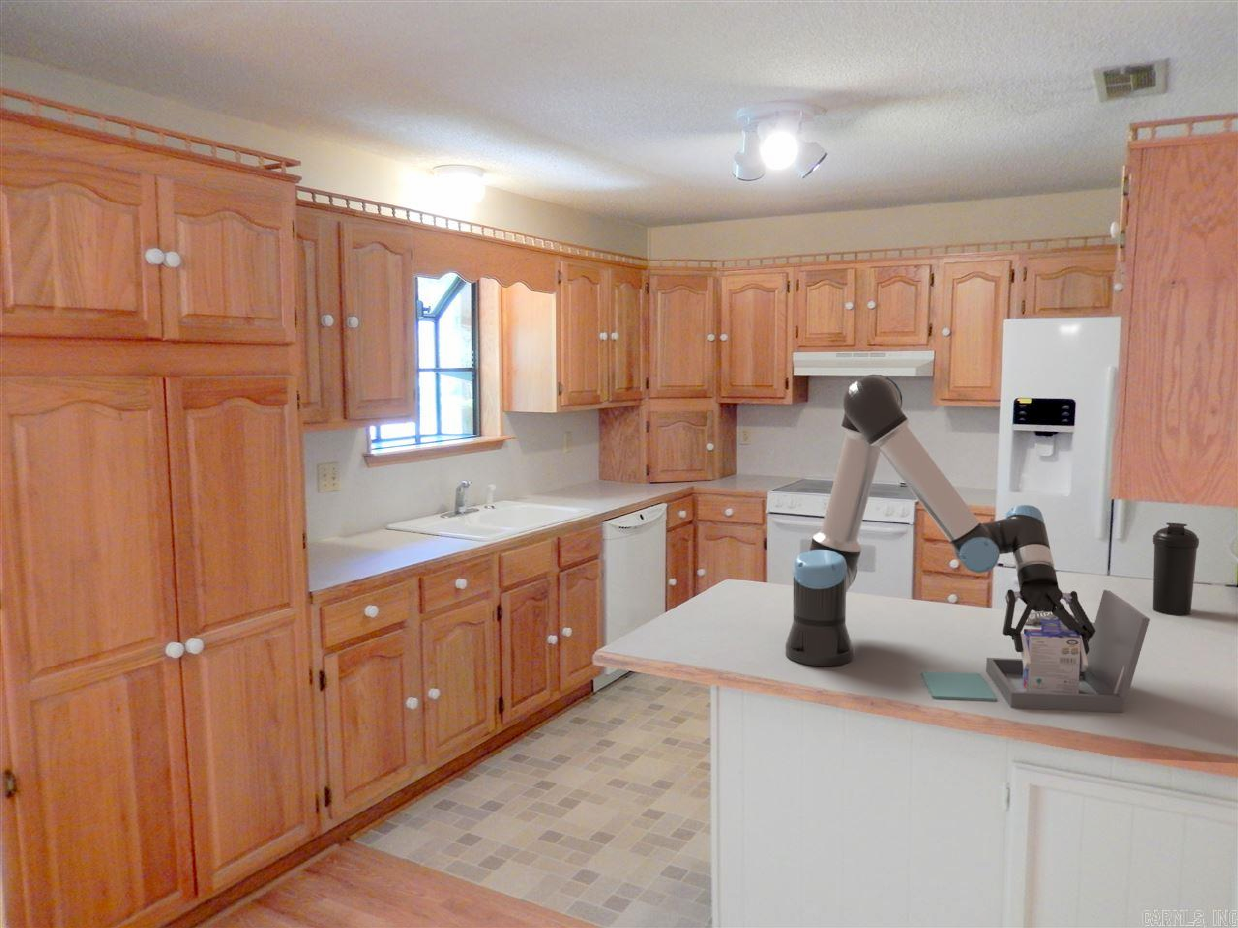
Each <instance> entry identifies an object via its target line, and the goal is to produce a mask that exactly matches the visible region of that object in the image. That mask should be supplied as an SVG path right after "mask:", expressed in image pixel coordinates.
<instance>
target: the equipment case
mask: <svg viewBox="0 0 1238 928" xmlns="http://www.w3.org/2000/svg"><path fill="white" fill-rule="evenodd" d="M1150 620H1151V618H1149V617H1148V616H1146V614H1144V613H1142V612H1141V611H1139V610H1138V609H1136V608H1135V607H1134V606H1133V605H1131V604H1129V603H1128V602H1127V601H1125V600H1124V599H1122V598H1121V597H1119V596H1118V595H1117V594H1115V593H1114V592H1113V591H1111V590H1108V589H1103V591H1102V595H1101V598H1100V601H1099V605H1098V609H1097V612H1096V615H1095V620H1094V622H1093V623H1094V626H1093V627H1094V629H1095V633H1094V635H1093V637H1092V638H1091V639H1089V641H1088V645H1089V652H1088V654H1087V655H1086V657H1087V662H1088V667H1087V669H1086V670H1085V672H1084V671H1080V673H1079V678H1080V677H1081V678H1082V679H1084V680H1085V681H1086V683H1087V684H1089V686H1091V688H1092V689H1094V691H1095V692H1096V693H1097V694H1091V693H1090V694H1089V693H1079V694H1073V693H1050V692H1027V691H1026V690H1025V691H1023V690H1015V688H1014V687H1013V685H1012V684H1011V683H1010V681H1009V680H1008V679H1007V678H1006V676H1005V675H1006V674H1007V675H1023V661H1022V658H1003V657H1002V658H1001V657H1000V658H998V657H986V666H985V673H986V674H987V675H988V676H989V677H990V679H991V680H992V682H993V684H994V685H995V686H996V688H997V689H998V691H999V693H1000V694H1001V695H1002V697H1003V699H1005V701H1006V703H1007V704H1008V706H1009V707H1010V708H1013V709H1014V708H1015V709H1031V710H1032V709H1033V710H1056V711H1058V710H1059V711H1076V712H1077V711H1080V712H1101V713H1118V714H1119V713H1123V706H1124V705H1123V704H1124V699H1127V697H1128V694H1129V691H1130V689H1131V685H1132V681H1133V678H1134V674H1135V672H1136V667H1137V666H1138V662H1139V659H1140V654H1141V651H1142V649H1143V644H1144V641H1145V637H1146V635H1147V631H1148V629H1149V624H1150ZM1004 674H1005V675H1004Z"/></svg>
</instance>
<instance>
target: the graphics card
mask: <svg viewBox="0 0 1238 928" xmlns="http://www.w3.org/2000/svg"><path fill="white" fill-rule="evenodd" d="M1069 614H1070V615H1071V616H1072V617H1073V618H1074V619H1075V620H1076V618H1075V617H1074V615H1073V614H1072V613H1069ZM1041 619H1053V620H1060V619H1059V618H1058V617H1057V616H1055V615H1054V614H1053V613H1052V612H1045V611H1039V612H1035V611H1033V612H1031V613H1030V615H1029V617H1028V619H1027V621H1026V623H1025V625H1024V626H1028V625H1027V624H1031V625H1034V624H1038V626H1039V627H1040V626H1041ZM1076 621H1077V620H1076ZM1090 622H1091V624H1092V625H1093V626H1094V622H1093V621H1090ZM1077 623H1078V622H1077ZM1060 624H1061V629H1062V630H1069V629H1068V628H1067V627H1066V626H1065V625H1064V624H1063V623H1062V622H1061V620H1060ZM1044 625H1045V626H1047V627H1057V626H1058V625H1057V624H1055V623H1046V624H1044Z"/></svg>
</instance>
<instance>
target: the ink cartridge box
mask: <svg viewBox="0 0 1238 928" xmlns="http://www.w3.org/2000/svg"><path fill="white" fill-rule="evenodd" d="M1046 623H1055V624H1057V625H1058V626H1057V627H1047V626H1045V625H1044V624H1046ZM1040 625H1041V627H1040V628H1041V629H1032V628H1031V629H1030V628H1029V629H1028V628H1023V634H1026V640H1027V645H1028V650H1029V655H1030V660H1031V664H1030V666H1029V668H1028V669H1024V666H1023V674H1022V687H1023V689H1024V690H1025V691H1027V692H1050V693H1073V694H1080V692H1079V691H1080V677H1079V673H1080V650H1081V637H1080V636H1079V635H1078V634H1077V633H1076V632H1075V631H1074V630H1062V629H1061V624H1060V620H1053V619H1041V624H1040Z"/></svg>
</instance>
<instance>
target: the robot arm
mask: <svg viewBox="0 0 1238 928" xmlns="http://www.w3.org/2000/svg"><path fill="white" fill-rule="evenodd" d="M842 400H843V401H842V404H843V410H844V414H843V419H842V423H841V426H840V427H841V429H842V431H843V432H844V435H845V436H844V441H843V445H842V449H841V453H840V456H839V460H838V464H837V467H836V468H837V469H836V472H835V476H834V480H833V483H832V487H831V491H830V495H829V499H828V501H827V502H828V503H827V508H826V510H825V514H824V515H825V516H824V518H823V523H822V527H821V529H820V531H818V532H817V533H815V534H813V536H812V540H811V543H810V548H809V550H807V551H805V552H804V551H803V552H802V553H799V554H798V555H797V556H796V557H795V559H794V562H793V567H792V575H793V619H792V621H793V622H792V625H791V627H790V631H789V634H788V636H787V639H786V642H785V656H786V658H788V659H789V660H791V661H793V662H796V663H798V664H801V665H805V666H812V667H836V666H837V667H838V666H842V665H846V664H848V663H849V662H851V661H853V658H854V647H853V643H852V640H851V637H850V633H849V631H848V628H847V625H846V624H847V623H846V619H847V618H846V617H847V616H846V615H847V613H846V612H847V609H846V608H847V603H846V602H847V592H848V590H850V588H851V586H852V585H853V583H854V582H855V579H856V576H857V573H858V563H859V558H860V555H861V551H862V546H861V545H860V543H859V541H858V536H859V534H860V530H861V527H862V522H863V519H864V514H865V512H866V511H865V510H866V507H867V504H868V500H869V495H870V491H871V489H872V485H873V481H874V478H875V473H876V469H877V466H878V462H879V458H880V455H881V453H882V455H883V457H885V458H886V460H887V461H888V462H889V464H890V465H891V467H892V468H893V469H894V470H895V471H896V473H897V475H899V477H900V478H901V479H902V480H903V482H904V483H905V485H906V486H907V488H908V489H910V492H911V494H913V495H914V497H915V498H916V500H918V502H919V503H920V505H921V506H922V507H923V509H925V511H926V513H928V516H930V518H931V519H932V520H933V521H934V523H935V524H936V525H937V527H938V528H939V530H940V531H941V533H943V535H944V536H945V537H946V539H947V540H948V542H949V543H950V545H951V546H952V548H953V552H954V555H955V557H956V558H957V559H959V560H960V562H961V564H962V565H963V566H964V568H965V569H967V570H968V571H970V572H972V573H975V574H985V573H988V572H990V571H992V570H993V569H994V568H995V567H996V566H997V564H998V561H999V560H1000V555H1003V554H1004V555H1005V554H1009V553H1010V554H1011V553H1012V555H1013V561H1014V565H1015V570H1016V575H1017V576H1016V577H1017V581H1018V586H1019V591H1014V590H1013V589H1010V588H1009V589H1007V592H1006V594H1005V597H1004V599H1005V602H1006V609H1005V615H1004V622H1003V627H1002V628H1003V629H1002V635H1003V636H1005V637H1007V636H1008V637H1011V640H1012V641H1013V643H1014V649H1015V651H1016V652H1017V653H1020V655H1021V659H1022V661H1023V666H1024V669H1028V668H1029V666H1030V664H1031V660H1030V655H1029V650H1028V645H1027V640H1026V634H1024V633H1022V631H1023V630H1024V627H1025V626H1026V625H1025V623H1026V622H1027V621H1028V617H1030V616H1031V614H1030V613H1032V611H1033V612H1040V611H1045V612H1046V613H1051V614H1052V613H1053V614H1054V615H1055V616H1057V617H1058V618H1059V619H1060V620H1061V622H1062V623H1063V624H1064V625H1065V626H1066V627H1067V628H1068V629H1069V630H1074V631H1075V632H1076V633H1077V634H1078V635H1079V636H1080V637H1081V650H1080V671H1084V672H1085V670H1086V669H1087V667H1088V662H1087V657H1086V655H1087V654H1088V652H1089V645H1088V643H1089V641H1088V639H1089V640H1090V639H1091V638H1092V637H1093V635H1094V633H1095V629H1094V627H1093V625H1092V624H1091V622H1092V621H1091V620H1090V618H1089V617H1088V615H1087V614H1086V611H1085V610H1084V609H1083V607H1082V605H1081V603H1080V602H1079V598H1078V597H1079V596H1078V592H1077V591H1076V590H1072V591H1071V592H1063V591H1062V590H1061V589H1060V586H1059V582H1058V578H1057V574H1056V569H1055V563H1054V560H1053V555H1052V550H1051V547H1050V546H1051V545H1050V542H1049V538H1048V533H1047V529H1046V528H1047V527H1046V523H1045V521H1044V517H1043V514H1042V512H1041V510H1040V509H1039V508H1037V507H1035V506H1034V505H1029V504H1021V505H1017V506H1015V507H1012V508H1009V509H1008V511H1007V512H1006V513H1005V518H1003V519H1000V520H993V521H988V522H986V521H985V522H980V520H979V519H978V517H977V516H976V515H975V513H974V512H973V511H972V510H971V508H970V507H969V506H968V505H967V503H966V502H965V501H964V499H963V498H962V496H961V495H960V494H959V492H958V491H957V490H956V489H955V488H954V486H953V484H952V483H951V482H950V481H949V479H948V478H947V477H946V475H945V474H944V472H943V471H942V470H941V469H940V467H938V465H937V464H936V462H935V460H933V458H932V457H931V456H930V454H929V452H927V449H925V448H924V447H923V445H922V444H921V442H920V441H919V440H918V438H917V437H916V436H915V434H914V433H913V432H912V431H911V429H910V428H909V421H910V420H909V418H908V416H906V415H905V413H904V412H903V410H902V408H903V396H902V391H901V388H900V387H899V385H898V384H897V383H896V382H895V381H894V380H892V379H891V378H889V377H887V376H884V375H882V374H870V375H866V376H863V377H861V378H858V379H856V380H854V381H853V382H852V383H851V384H850V385H849V386H848V387H847V388H846V391H845V393H844V395H843V399H842ZM1018 599H1020V600H1021V601H1022V602H1023V603H1024V604H1025V605H1026V607H1025V608H1024V611H1023V612H1022V614H1021V616H1020V618H1019V621H1018V623H1017V624H1016V627H1012V625H1013V620H1014V613H1015V606H1016V603H1017V602H1018ZM1061 600H1064V602H1065V604H1066V605H1068V608H1069V609H1070V611H1071V613H1069V611H1068V610H1067V609H1066V608H1065V605H1064V604H1063V602H1062V601H1061ZM1070 614H1071V615H1074V617H1075V618H1076V620H1077V621H1076V620H1075V619H1074V618H1073V617H1072V616H1071V615H1070ZM1077 622H1078V623H1077Z"/></svg>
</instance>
